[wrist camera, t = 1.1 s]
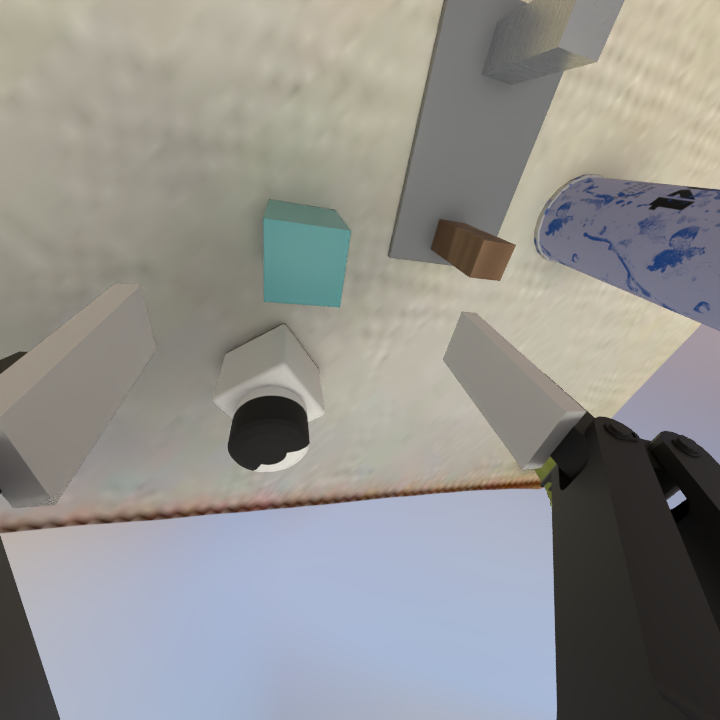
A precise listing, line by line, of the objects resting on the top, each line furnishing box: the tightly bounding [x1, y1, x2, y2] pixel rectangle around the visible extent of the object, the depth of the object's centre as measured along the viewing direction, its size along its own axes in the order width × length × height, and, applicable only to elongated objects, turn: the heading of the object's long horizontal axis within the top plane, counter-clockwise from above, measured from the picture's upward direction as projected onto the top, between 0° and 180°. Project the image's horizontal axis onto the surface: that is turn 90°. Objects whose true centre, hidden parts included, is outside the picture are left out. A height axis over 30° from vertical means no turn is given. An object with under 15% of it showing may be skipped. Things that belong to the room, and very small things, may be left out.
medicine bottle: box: [212, 324, 325, 472], centre depth 27 cm, size 7×7×12 cm
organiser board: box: [388, 0, 564, 265], centre depth 24 cm, size 10×17×1 cm, turn 170°
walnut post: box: [431, 219, 516, 281], centre depth 24 cm, size 3×3×8 cm
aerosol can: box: [534, 175, 720, 331], centre depth 21 cm, size 8×8×20 cm
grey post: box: [482, 0, 624, 85], centre depth 18 cm, size 3×3×8 cm
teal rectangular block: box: [263, 199, 351, 307], centre depth 22 cm, size 5×5×8 cm
